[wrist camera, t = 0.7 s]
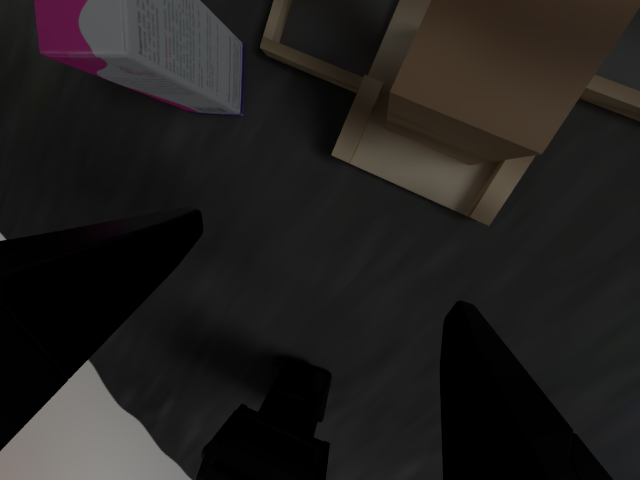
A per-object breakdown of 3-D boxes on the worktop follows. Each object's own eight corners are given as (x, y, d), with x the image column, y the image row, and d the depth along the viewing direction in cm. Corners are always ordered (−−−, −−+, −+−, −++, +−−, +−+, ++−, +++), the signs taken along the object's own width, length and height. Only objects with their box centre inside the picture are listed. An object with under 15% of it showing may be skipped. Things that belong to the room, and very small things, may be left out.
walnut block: (470, 165, 19) (541, 154, 11) (385, 128, 20) (389, 91, 12) (529, 66, 17) (673, -44, 9) (431, 29, 18) (478, -104, 10)
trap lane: (585, 269, 20) (633, 290, 16) (248, 118, 23) (223, 106, 20) (893, -101, 13) (1096, -211, 10) (359, -243, 17) (353, -369, 13)
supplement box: (246, 42, 22) (116, -92, 11) (244, 117, 24) (127, 64, 13) (187, 41, 23) (15, -82, 12) (188, 113, 25) (37, 60, 14)
